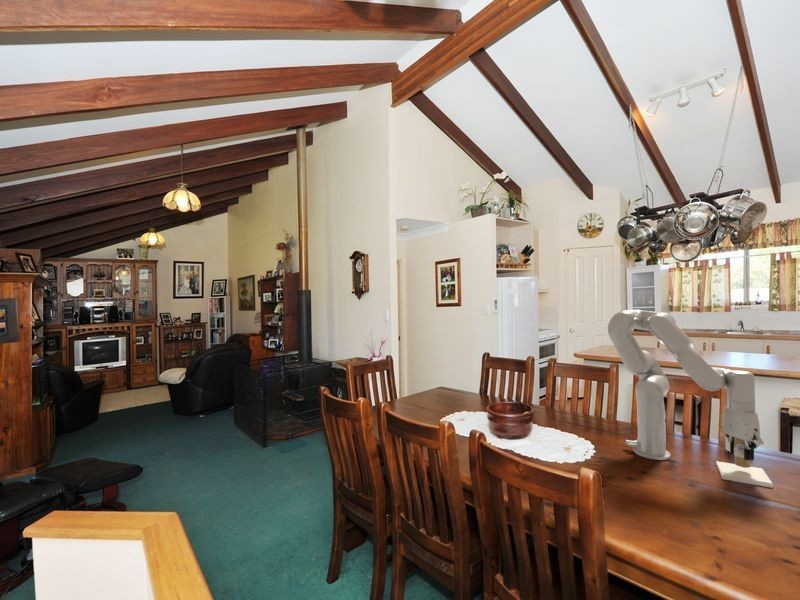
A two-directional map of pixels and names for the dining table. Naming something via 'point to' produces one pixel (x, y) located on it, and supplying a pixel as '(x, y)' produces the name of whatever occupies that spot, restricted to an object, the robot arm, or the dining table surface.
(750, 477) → the ceramic tile
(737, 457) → the sprinkles bottle
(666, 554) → the dining table surface
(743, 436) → the robot arm
